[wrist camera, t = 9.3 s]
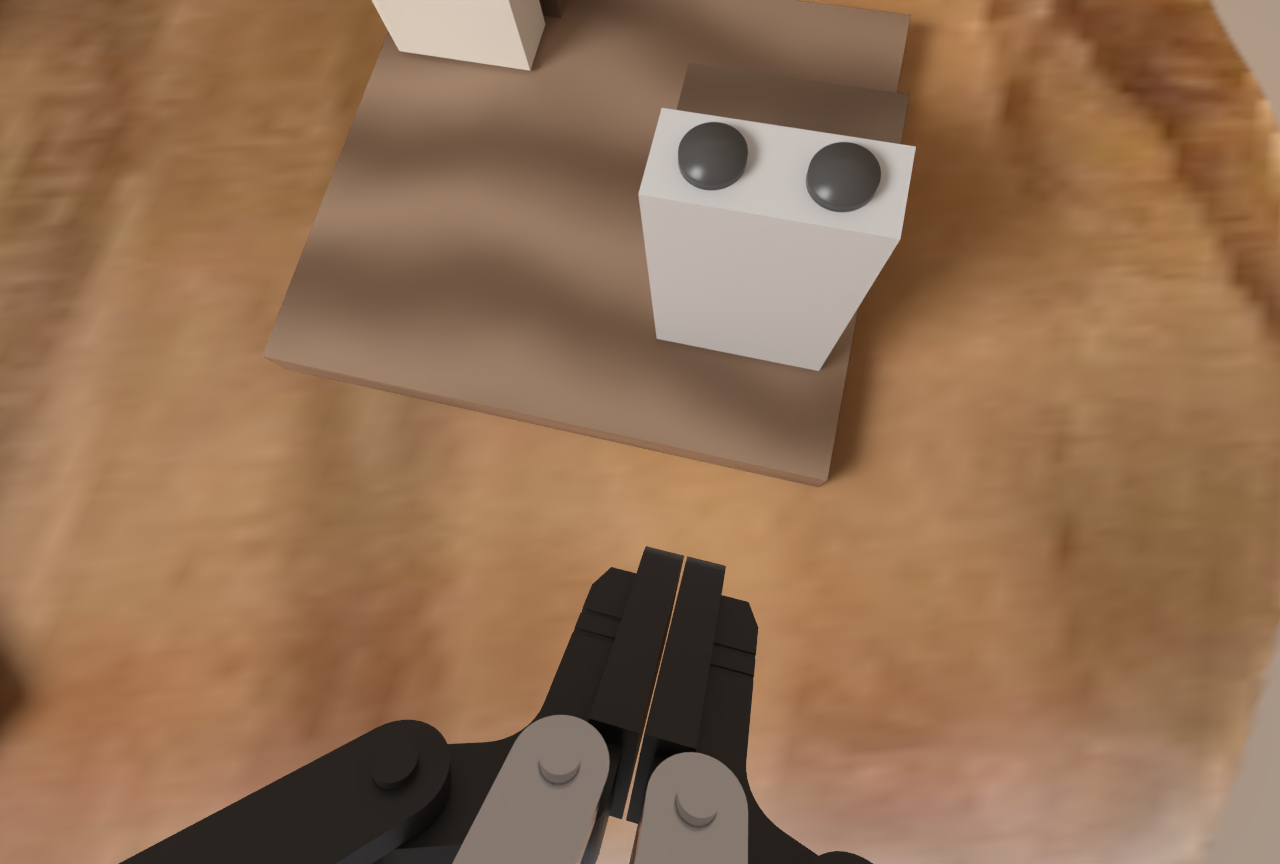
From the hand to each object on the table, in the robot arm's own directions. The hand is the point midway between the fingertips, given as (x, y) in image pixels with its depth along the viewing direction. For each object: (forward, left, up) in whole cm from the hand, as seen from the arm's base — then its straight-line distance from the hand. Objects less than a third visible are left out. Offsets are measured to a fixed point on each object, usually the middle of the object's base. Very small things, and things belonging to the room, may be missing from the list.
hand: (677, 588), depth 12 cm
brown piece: (+7, +14, -12) cm, 19 cm away
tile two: (+8, +6, -10) cm, 14 cm away
